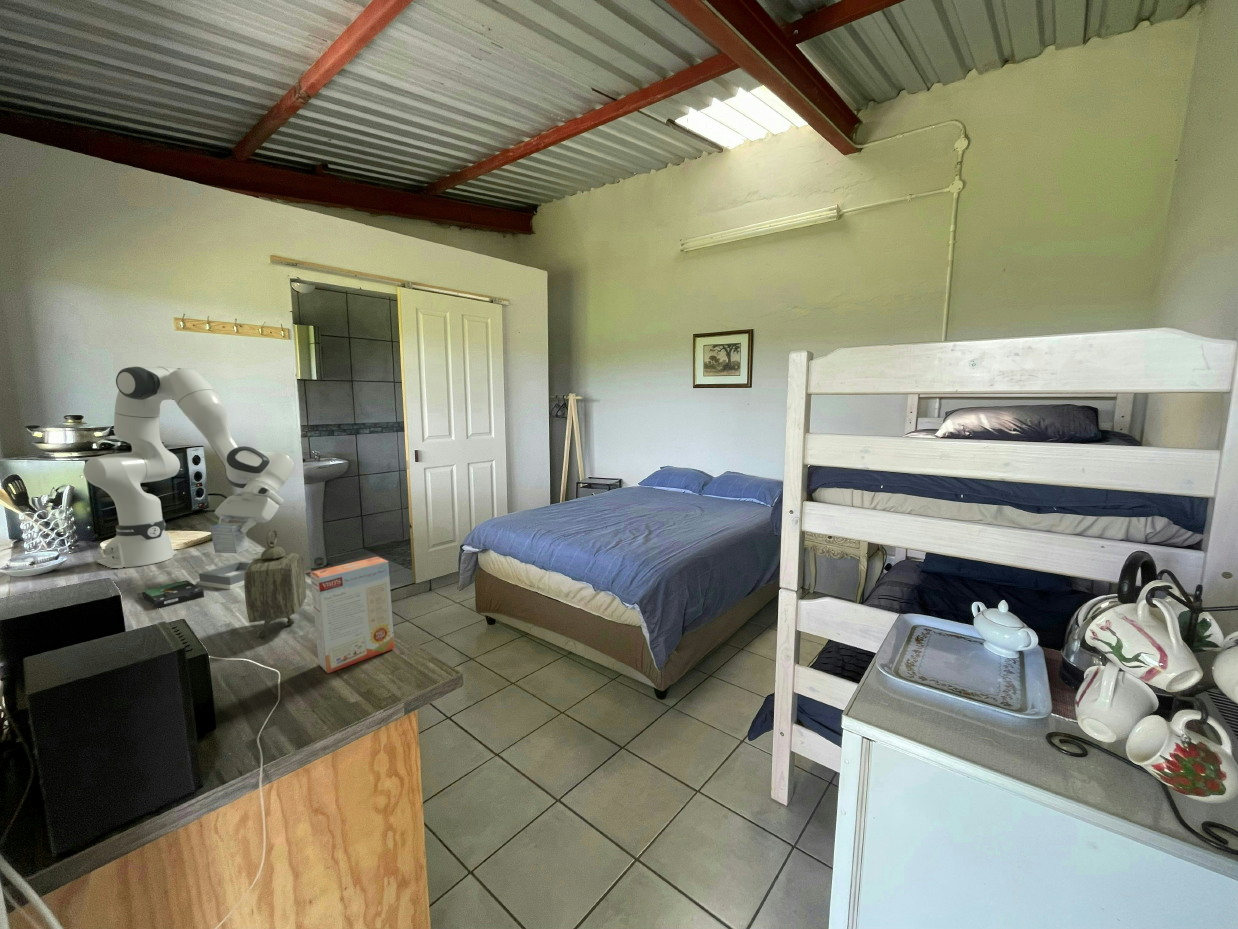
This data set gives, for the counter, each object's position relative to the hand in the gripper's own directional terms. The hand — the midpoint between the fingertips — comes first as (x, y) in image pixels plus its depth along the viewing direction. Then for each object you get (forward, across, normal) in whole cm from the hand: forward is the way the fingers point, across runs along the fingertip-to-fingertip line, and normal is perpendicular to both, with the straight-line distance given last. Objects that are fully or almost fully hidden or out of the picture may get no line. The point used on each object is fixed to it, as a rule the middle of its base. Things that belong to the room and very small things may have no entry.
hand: (230, 530), depth 152 cm
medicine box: (+5, 0, +5) cm, 7 cm away
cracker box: (+32, +75, -8) cm, 82 cm away
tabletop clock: (+27, +45, -4) cm, 52 cm away
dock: (+11, 0, +12) cm, 16 cm away
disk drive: (+23, -3, +1) cm, 23 cm away
